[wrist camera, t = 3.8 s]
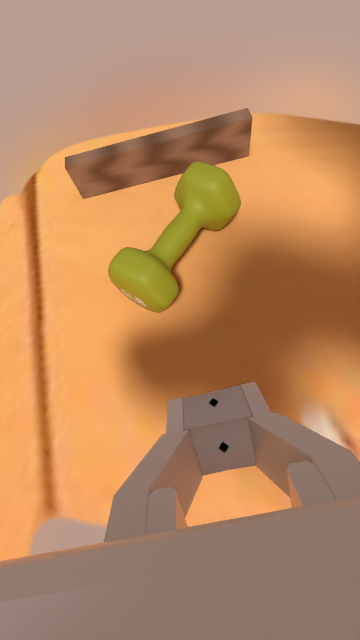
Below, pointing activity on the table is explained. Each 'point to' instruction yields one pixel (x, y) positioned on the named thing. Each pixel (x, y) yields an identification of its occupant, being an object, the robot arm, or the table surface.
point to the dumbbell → (176, 237)
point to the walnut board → (161, 154)
